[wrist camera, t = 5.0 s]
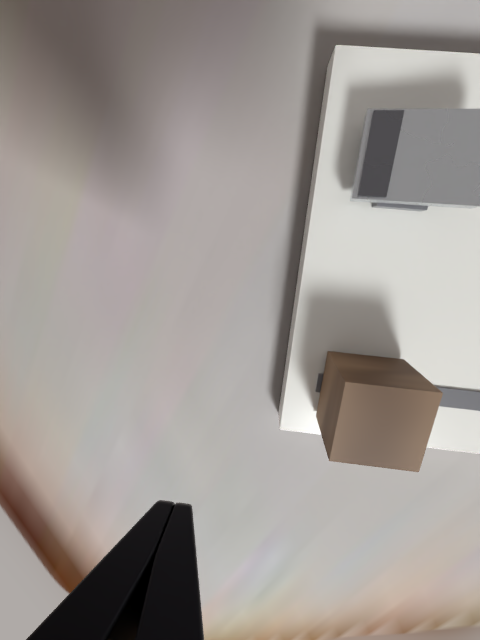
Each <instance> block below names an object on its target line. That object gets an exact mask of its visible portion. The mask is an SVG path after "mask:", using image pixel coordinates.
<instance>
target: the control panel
mask: <svg viewBox="0 0 480 640" xmlns="http://www.w3.org/2000/svg"><path fill="white" fill-rule="evenodd" d="M367 109H480V54H479V53H462V52H446V51H430V50H413V49H397V48H381V47H364V46H348V45H335V48H334V51H333V53H332V56H331V58H330V61H329V64H328V66H327V73H326V80H325V87H324V94H323V101H322V108H321V115H320V122H319V129H318V137H317V144H316V151H315V158H314V165H313V172H312V179H311V186H310V193H309V200H308V207H307V214H306V221H305V228H304V236H303V243H302V250H301V257H300V264H299V271H298V278H297V285H296V292H295V299H294V306H293V313H292V320H291V327H290V334H289V342H288V349H287V356H286V363H285V370H284V377H283V384H282V391H281V398H280V405H279V412H278V416H279V427H280V430H288V431H296V432H304V433H312V434H320V435H321V431H320V428H319V425H318V421H317V418H316V413H317V407H318V402H319V396H320V391H321V385H322V380H323V374H324V369H325V363H326V357H327V352H328V351H333V352H342V353H351V354H360V355H370V356H379V357H388V358H397V359H404V360H405V361H406V362H408V363H409V364H410V365H411V366H412V367H413V368H415V369H416V370H417V371H418V372H419V373H420V374H422V375H423V376H424V377H425V378H426V379H427V380H429V381H430V382H431V383H432V384H433V385H434V386H436V387H437V388H438V389H439V390H440V391H441V392H442V393H443V395H442V398H441V401H440V405H439V408H438V411H437V414H436V418H435V421H434V424H433V427H432V431H431V434H430V437H429V440H428V444H427V448H435V449H443V450H452V451H460V452H468V453H476V454H480V207H476V208H472V209H468V208H452V207H436V206H419V205H403V204H387V203H371V202H355V201H350V196H351V190H352V185H353V179H354V173H355V168H356V162H357V157H358V151H359V145H360V140H361V134H362V128H363V123H364V117H365V115H366V112H367Z"/></svg>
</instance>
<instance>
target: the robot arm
mask: <svg viewBox="0 0 480 640" xmlns="http://www.w3.org/2000/svg"><path fill="white" fill-rule="evenodd" d="M26 640H204V634H203V623H202V612H201V601H200V590H199V579H198V568H197V557H196V546H195V534H194V523H193V512H192V506H191V505H190V504H185V503H176V504H174V502H170V501H163V500H160V501H157V502H156V503H155V504H154V505H153V506H152V507H151V509H150V510H149V511H148V512H147V513H146V514H145V515H144V516H143V517H142V518H141V519H140V520H139V521H138V522H137V523H136V524H135V525H134V526H133V527H132V529H131V530H130V531H129V532H128V533H127V534H126V535H125V536H124V537H123V538H122V539H121V540H120V541H119V542H118V543H117V544H116V545H115V546H114V548H113V549H112V550H111V551H110V552H109V553H108V554H107V555H106V556H105V557H104V558H103V559H102V560H101V561H100V562H99V563H98V564H97V565H96V567H95V568H94V569H93V570H92V571H91V572H90V573H89V574H88V575H87V576H86V577H85V578H84V579H83V580H82V581H81V582H80V583H79V584H78V586H77V587H76V588H75V589H74V590H73V591H72V592H71V593H70V594H69V595H68V596H67V597H66V598H65V599H64V600H63V601H62V602H61V603H60V605H59V606H58V607H57V608H56V609H55V610H54V611H53V612H52V613H51V614H50V615H49V616H48V617H47V618H46V619H45V620H44V621H43V622H42V623H41V625H40V626H39V627H38V628H37V629H36V630H35V631H34V632H33V633H32V634H31V635H30V636H29V637H28V638H27V639H26Z"/></svg>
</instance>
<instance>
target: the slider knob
mask: <svg viewBox="0 0 480 640" xmlns="http://www.w3.org/2000/svg"><path fill="white" fill-rule="evenodd" d="M442 395H443V393H442V392H441V391H440V390H439V389H438V388H437V387H436V386H434V385H433V384H432V383H431V382H430V381H429V380H427V379H426V378H425V377H424V376H423V375H422V374H420V373H419V372H418V371H417V370H416V369H415V368H413V367H412V366H411V365H410V364H409V363H408V362H406V361H405V360H404V359H397V358H388V357H379V356H370V355H360V354H351V353H342V352H333V351H328V352H327V357H326V363H325V369H324V374H323V380H322V385H321V391H320V396H319V402H318V407H317V413H316V418H317V421H318V425H319V428H320V431H321V435H322V438H323V441H324V445H325V448H326V451H327V455H328V458H329V461H334V462H342V463H350V464H358V465H366V466H374V467H382V468H390V469H398V470H406V471H414V472H419V470H420V466H421V463H422V460H423V457H424V453H425V450H426V447H427V444H428V440H429V437H430V434H431V431H432V427H433V424H434V421H435V418H436V414H437V411H438V408H439V405H440V401H441V398H442Z"/></svg>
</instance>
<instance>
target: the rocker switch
mask: <svg viewBox="0 0 480 640" xmlns="http://www.w3.org/2000/svg"><path fill="white" fill-rule="evenodd" d="M350 201H355V202H371V203H387V204H403V205H419V206H436V207H452V208H468V209H472V208H476V207H480V109H367V112H366V115H365V117H364V123H363V128H362V134H361V140H360V145H359V151H358V157H357V162H356V168H355V173H354V179H353V185H352V190H351V196H350Z"/></svg>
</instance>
